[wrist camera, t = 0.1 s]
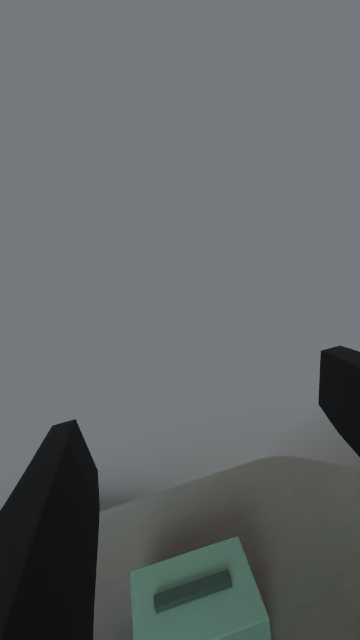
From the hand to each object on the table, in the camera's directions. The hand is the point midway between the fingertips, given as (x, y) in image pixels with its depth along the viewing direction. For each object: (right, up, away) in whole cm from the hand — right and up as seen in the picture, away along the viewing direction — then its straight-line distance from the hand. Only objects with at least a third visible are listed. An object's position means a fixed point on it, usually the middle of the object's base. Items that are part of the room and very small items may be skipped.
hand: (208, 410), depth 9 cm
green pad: (+1, -18, +12) cm, 22 cm away
